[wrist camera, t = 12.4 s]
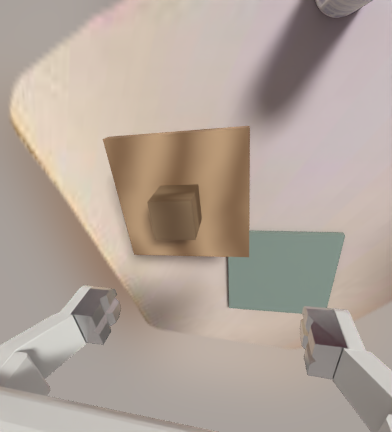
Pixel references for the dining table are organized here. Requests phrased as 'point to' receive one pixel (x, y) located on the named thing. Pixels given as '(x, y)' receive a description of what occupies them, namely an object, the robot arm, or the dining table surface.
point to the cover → (184, 190)
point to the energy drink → (340, 7)
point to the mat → (285, 271)
